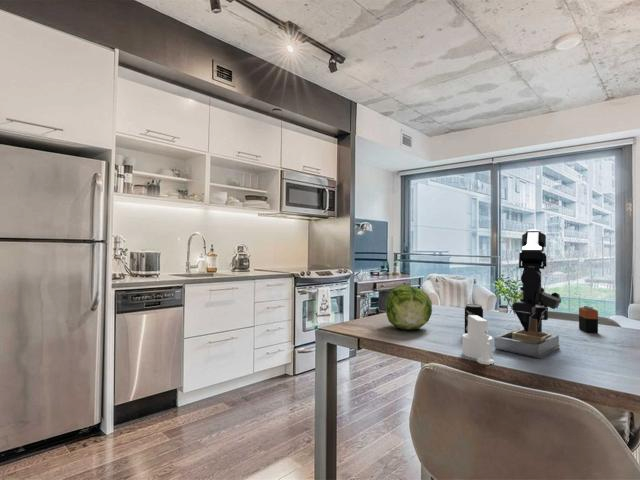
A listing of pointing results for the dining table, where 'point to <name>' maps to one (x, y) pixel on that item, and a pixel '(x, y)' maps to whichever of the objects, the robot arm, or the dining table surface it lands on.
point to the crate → (530, 334)
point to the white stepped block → (475, 338)
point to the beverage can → (472, 313)
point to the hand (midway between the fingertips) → (531, 329)
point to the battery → (588, 319)
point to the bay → (526, 345)
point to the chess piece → (485, 351)
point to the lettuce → (408, 307)
